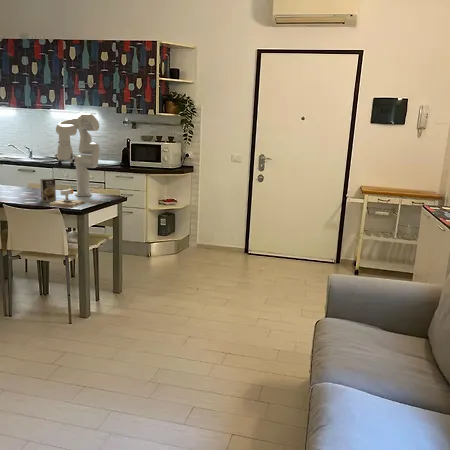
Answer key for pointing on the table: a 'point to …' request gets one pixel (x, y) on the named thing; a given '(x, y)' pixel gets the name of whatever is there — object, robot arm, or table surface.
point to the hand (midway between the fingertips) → (66, 167)
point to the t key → (66, 192)
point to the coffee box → (48, 190)
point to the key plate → (66, 203)
